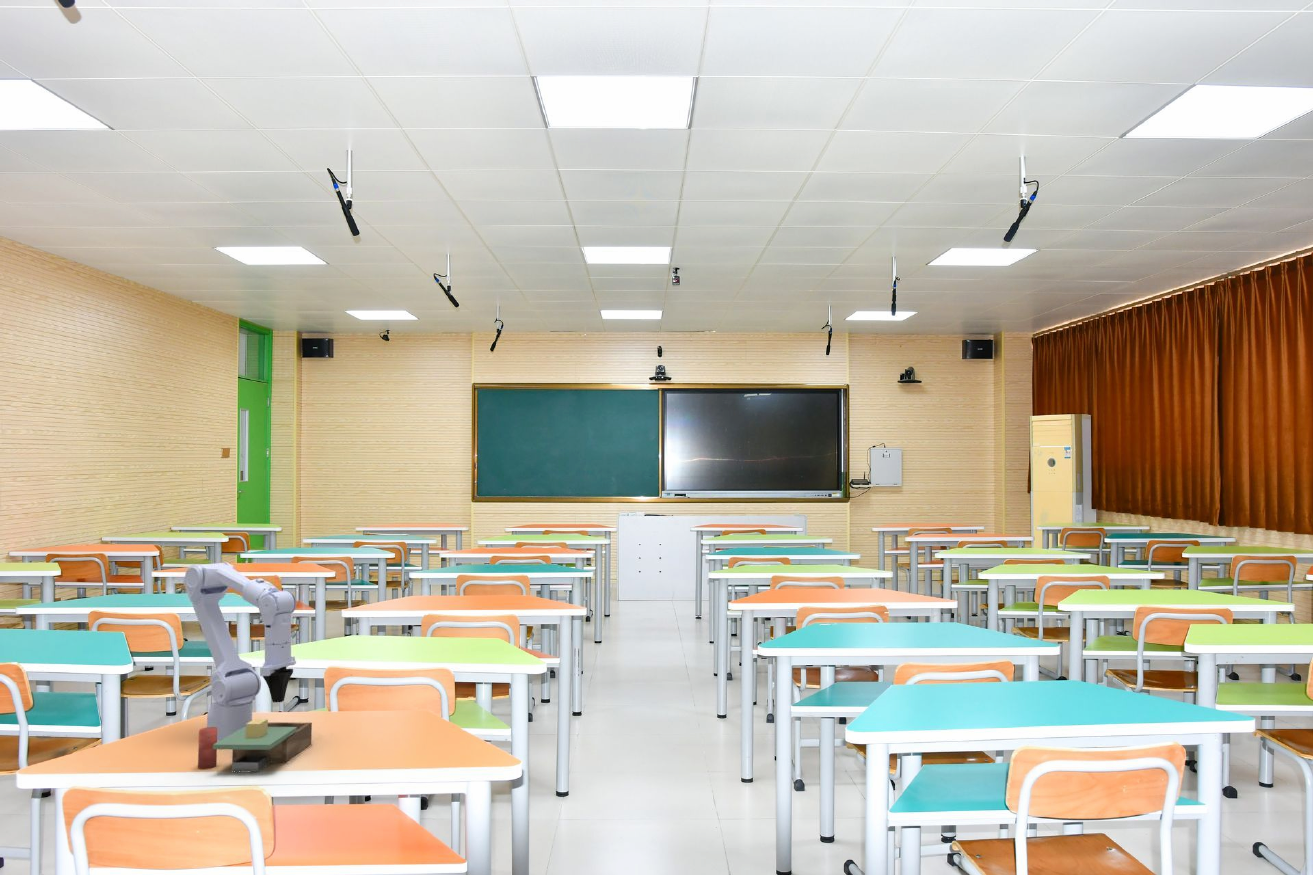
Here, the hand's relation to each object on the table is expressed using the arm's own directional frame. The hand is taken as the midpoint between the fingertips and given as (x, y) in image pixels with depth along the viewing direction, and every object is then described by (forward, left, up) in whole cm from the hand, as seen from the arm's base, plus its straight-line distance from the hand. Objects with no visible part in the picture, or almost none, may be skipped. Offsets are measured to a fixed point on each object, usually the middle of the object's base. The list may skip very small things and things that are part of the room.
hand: (278, 701), depth 207 cm
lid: (+1, -13, -5) cm, 14 cm away
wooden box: (+1, -5, -10) cm, 11 cm away
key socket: (+1, -16, -10) cm, 19 cm away
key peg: (-9, -15, -10) cm, 20 cm away
